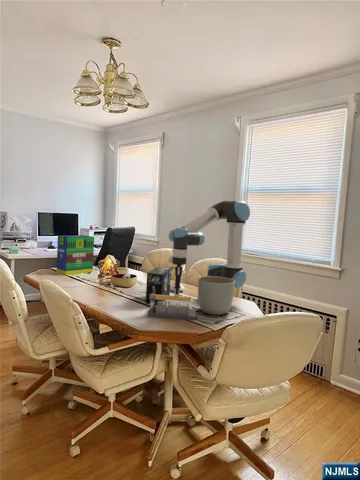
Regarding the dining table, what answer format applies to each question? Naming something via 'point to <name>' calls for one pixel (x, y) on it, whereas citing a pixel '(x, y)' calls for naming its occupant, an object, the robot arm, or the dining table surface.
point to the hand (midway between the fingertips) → (176, 299)
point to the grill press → (171, 310)
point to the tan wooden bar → (169, 298)
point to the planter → (215, 294)
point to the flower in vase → (174, 283)
